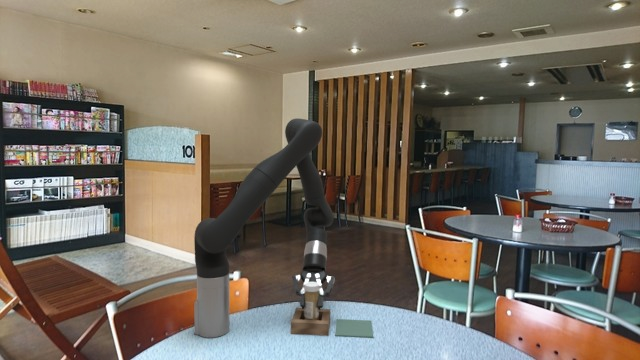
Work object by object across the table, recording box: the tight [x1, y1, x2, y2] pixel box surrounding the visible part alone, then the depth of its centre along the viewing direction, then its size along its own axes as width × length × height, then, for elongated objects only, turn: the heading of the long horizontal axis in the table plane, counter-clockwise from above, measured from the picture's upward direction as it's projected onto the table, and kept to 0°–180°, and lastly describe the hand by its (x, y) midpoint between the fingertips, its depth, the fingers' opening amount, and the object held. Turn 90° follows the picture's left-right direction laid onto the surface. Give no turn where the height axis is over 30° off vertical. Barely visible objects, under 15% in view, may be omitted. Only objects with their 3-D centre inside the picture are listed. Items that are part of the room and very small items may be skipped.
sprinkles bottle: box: [303, 282, 319, 320], centre depth 119 cm, size 5×5×13 cm
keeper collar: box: [290, 307, 331, 337], centre depth 119 cm, size 11×11×4 cm
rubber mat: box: [334, 318, 374, 339], centre depth 119 cm, size 11×11×1 cm
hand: (311, 307), depth 117 cm, fingers closed on sprinkles bottle, 4 cm apart
